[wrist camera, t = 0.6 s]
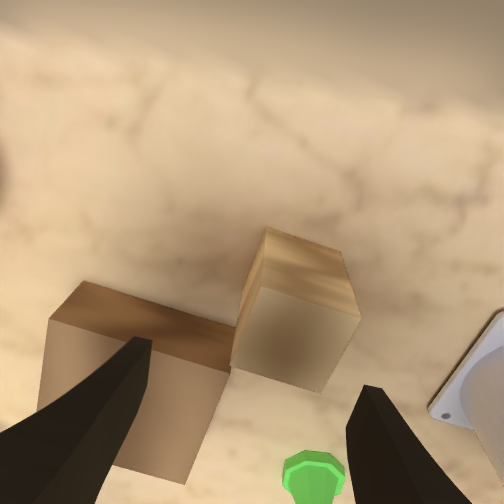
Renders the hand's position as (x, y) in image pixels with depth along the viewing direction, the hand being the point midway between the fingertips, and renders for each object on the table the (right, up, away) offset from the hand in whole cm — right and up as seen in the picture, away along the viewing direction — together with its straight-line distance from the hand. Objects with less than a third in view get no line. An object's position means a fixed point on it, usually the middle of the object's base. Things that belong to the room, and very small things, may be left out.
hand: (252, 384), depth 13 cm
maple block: (+2, +3, +8) cm, 9 cm away
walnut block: (-7, -2, +11) cm, 13 cm away
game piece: (+4, -11, +14) cm, 18 cm away
